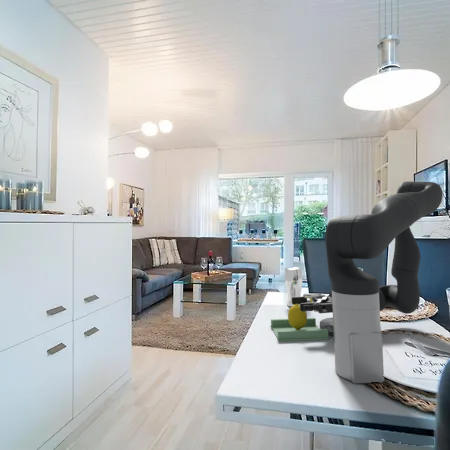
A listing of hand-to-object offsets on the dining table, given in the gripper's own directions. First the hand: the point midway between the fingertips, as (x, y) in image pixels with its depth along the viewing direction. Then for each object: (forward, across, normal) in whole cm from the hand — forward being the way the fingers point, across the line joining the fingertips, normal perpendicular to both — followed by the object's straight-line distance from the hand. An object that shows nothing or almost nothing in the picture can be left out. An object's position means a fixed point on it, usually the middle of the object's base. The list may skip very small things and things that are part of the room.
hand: (295, 303), depth 91 cm
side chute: (0, 0, +8) cm, 9 cm away
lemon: (0, 0, +8) cm, 8 cm away
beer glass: (-9, -33, +9) cm, 35 cm away
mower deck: (-14, +1, +8) cm, 17 cm away
